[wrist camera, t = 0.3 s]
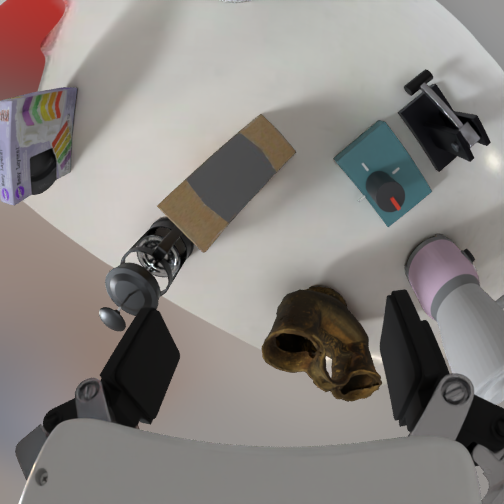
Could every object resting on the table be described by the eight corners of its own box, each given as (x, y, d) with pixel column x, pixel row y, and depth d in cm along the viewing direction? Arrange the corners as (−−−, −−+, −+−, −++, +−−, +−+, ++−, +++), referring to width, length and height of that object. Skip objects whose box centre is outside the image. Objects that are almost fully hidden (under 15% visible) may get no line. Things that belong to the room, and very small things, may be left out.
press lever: (403, 90, 30) (403, 83, 28) (424, 73, 28) (425, 66, 26) (460, 156, 28) (465, 152, 26) (481, 137, 26) (486, 133, 24)
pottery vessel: (379, 319, 56) (398, 395, 39) (343, 345, 61) (351, 419, 44) (294, 255, 51) (293, 336, 34) (258, 291, 56) (243, 372, 39)
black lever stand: (397, 112, 35) (430, 118, 25) (432, 84, 31) (471, 83, 21) (436, 170, 39) (471, 192, 28) (467, 141, 35) (507, 157, 25)
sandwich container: (298, 152, 41) (301, 176, 29) (228, 210, 48) (204, 255, 35) (260, 112, 39) (245, 115, 26) (193, 175, 45) (155, 207, 33)
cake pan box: (72, 178, 48) (12, 212, 33) (56, 173, 48) (-2, 205, 33) (81, 87, 38) (11, 96, 23) (64, 87, 38) (-3, 97, 23)
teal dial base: (327, 163, 42) (329, 167, 39) (378, 120, 37) (385, 121, 34) (377, 224, 45) (382, 232, 43) (425, 186, 40) (432, 191, 38)
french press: (176, 271, 56) (126, 356, 36) (140, 242, 54) (76, 318, 34) (208, 233, 51) (158, 321, 31) (168, 201, 48) (95, 271, 29)
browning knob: (360, 182, 39) (370, 195, 34) (381, 165, 37) (394, 175, 32) (376, 203, 41) (388, 219, 35) (396, 186, 39) (411, 200, 33)
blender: (423, 296, 51) (475, 426, 24) (392, 265, 49) (450, 414, 21) (474, 246, 44) (557, 360, 16) (448, 208, 41) (555, 328, 14)
